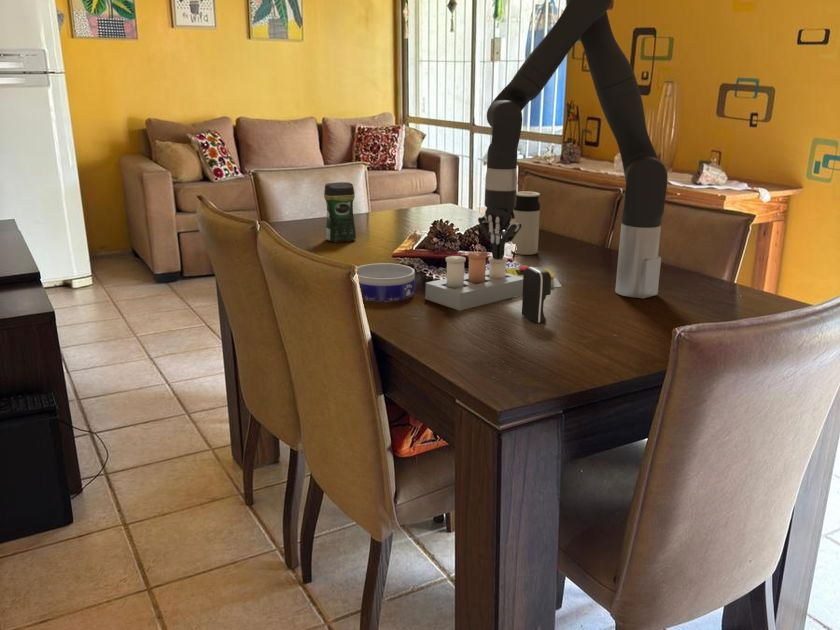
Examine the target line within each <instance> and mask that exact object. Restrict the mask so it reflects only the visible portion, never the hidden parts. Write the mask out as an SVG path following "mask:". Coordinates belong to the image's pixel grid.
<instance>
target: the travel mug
mask: <svg viewBox="0 0 840 630" xmlns="http://www.w3.org/2000/svg"><path fill="white" fill-rule="evenodd" d="M539 196H541V193H539V192H536V191H525V190H524V191H522V190H521V191H517V195H516V206H515V208H514V210H513V211H514V215H515V218H514V220H515V221H516V222H517V224H518V223H520V224H521V225H522V227H521V229H520V230H519V231H518V233H517V234H516V235H515V237H514V238H513V240H512V241H511V242H512V243H513V244H516V245H517V250H516V254H515V255H519V256H533V255H536V254H538V250H539V233H540V232H539V231H540V218H541V217H540V216H541V215H540V213H541V203H540V202H539V201H540V200H539Z"/></svg>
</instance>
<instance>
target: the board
mask: <svg viewBox="0 0 840 630" xmlns="http://www.w3.org/2000/svg"><path fill="white" fill-rule="evenodd" d="M468 275H469V273H466V274H465V273H464V287H462V288H458V289H452V288H449V287H447V277H446V278H443V279H437V280H432V281H427V282H425V293H424V294H425V297H424V298H425V300H428V301H429V302H433V303H436V304H439V305H441V306H444V307H448V308H450V309H454V310H457V311H464V310H467V309H471V308H475V307H479V306H483V305H487V304H491V303H496V302H500V301H504V300H509V299H512V298H515V297H519V296H523V277H519V276H515V275H512V274H508V273H506V275H505V278H503V279H498V280H496V279H493V278H489V269H485V283H480V284H473V283H470V282H468Z"/></svg>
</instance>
